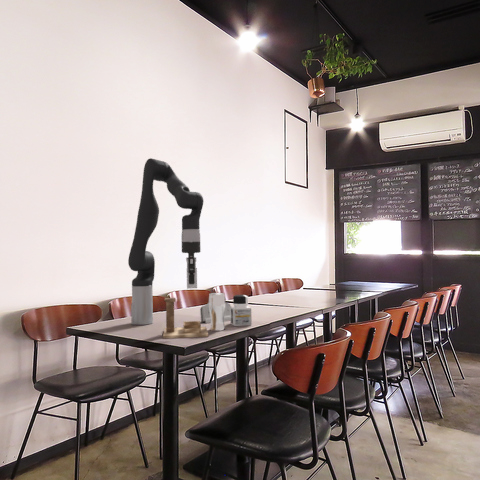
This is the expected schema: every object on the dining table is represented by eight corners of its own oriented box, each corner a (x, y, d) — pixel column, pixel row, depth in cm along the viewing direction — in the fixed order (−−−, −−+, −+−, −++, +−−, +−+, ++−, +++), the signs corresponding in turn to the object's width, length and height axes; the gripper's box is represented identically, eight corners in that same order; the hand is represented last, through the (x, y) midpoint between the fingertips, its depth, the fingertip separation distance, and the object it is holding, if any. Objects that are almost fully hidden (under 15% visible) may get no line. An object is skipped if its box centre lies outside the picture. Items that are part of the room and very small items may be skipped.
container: (234, 326, 179) (234, 296, 180) (230, 323, 187) (230, 294, 187) (251, 325, 181) (251, 295, 182) (246, 322, 189) (246, 293, 189)
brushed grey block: (187, 288, 164) (186, 268, 164) (186, 287, 168) (186, 268, 168) (197, 288, 164) (196, 268, 164) (196, 287, 168) (196, 267, 168)
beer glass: (217, 327, 177) (216, 292, 177) (229, 329, 173) (228, 293, 173) (205, 330, 172) (205, 293, 172) (218, 331, 167) (217, 294, 168)
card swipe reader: (205, 323, 187) (201, 302, 190) (201, 325, 191) (197, 304, 194) (236, 319, 197) (232, 299, 200) (231, 322, 200) (227, 301, 203)
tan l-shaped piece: (163, 338, 156) (162, 301, 156) (164, 330, 172) (164, 296, 172) (208, 336, 158) (207, 299, 159) (205, 328, 174) (205, 295, 174)
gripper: (181, 241, 173) (182, 282, 172) (181, 240, 159) (182, 285, 158) (199, 241, 174) (200, 282, 174) (201, 240, 160) (201, 284, 159)
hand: (191, 283), depth 166 cm, fingers closed on brushed grey block, 4 cm apart
